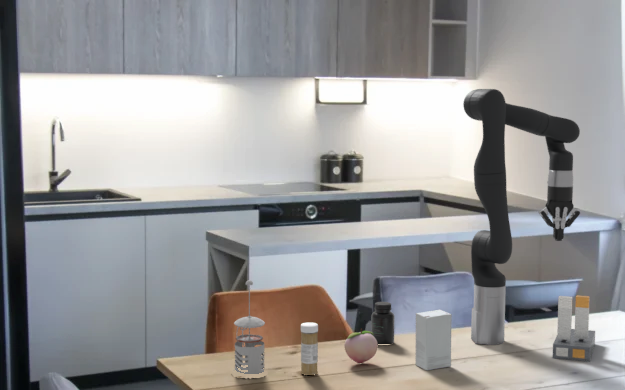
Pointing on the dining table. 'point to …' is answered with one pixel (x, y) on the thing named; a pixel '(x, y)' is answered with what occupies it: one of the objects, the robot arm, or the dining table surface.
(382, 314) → the supplement bottle
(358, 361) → the decorative fruit
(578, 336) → the knob orange
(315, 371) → the sprinkles bottle
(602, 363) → the dining table surface
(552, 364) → the dining table surface
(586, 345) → the console
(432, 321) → the skincare box
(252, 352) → the french press
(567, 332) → the grey upright block
